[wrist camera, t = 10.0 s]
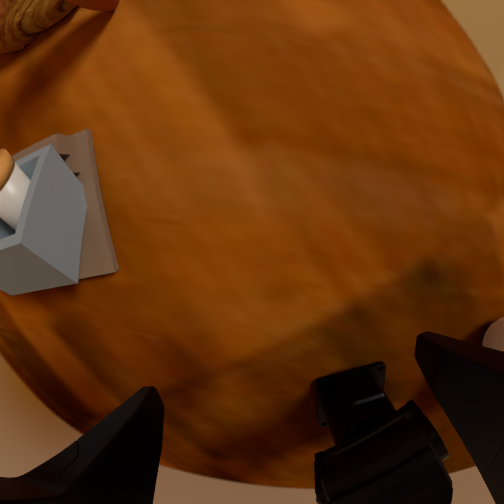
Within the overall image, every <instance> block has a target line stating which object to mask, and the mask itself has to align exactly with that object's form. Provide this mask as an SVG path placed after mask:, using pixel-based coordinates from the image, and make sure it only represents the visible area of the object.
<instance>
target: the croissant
mask: <svg viewBox="0 0 504 504" xmlns="http://www.w3.org/2000/svg"><path fill="white" fill-rule="evenodd" d="M76 6H77V5H75V4H72V3H70V2H68V1H66V0H0V53H7V52H14V51H18V50H21V49H22V48H23V47H24V46H25V45H26V44H29V43H31V42H32V41H33V40H34V39H35V38H36V37H37V35H38V32H39V31H43V30H45V29H48V28H49V27H50V26H51V25H52V24H55V23H57V22H58V21H59V20H60V19H61V18H63V17H64V16H66V15H67V14H68V13H70V12H71V10H72V9H74V8H75V7H76Z"/></svg>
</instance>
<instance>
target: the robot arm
mask: <svg viewBox="0 0 504 504" xmlns="http://www.w3.org/2000/svg"><path fill="white" fill-rule="evenodd" d="M415 359H416V361H417V363H418V365H419V367H420V369H421V371H422V373H423V375H424V377H425V379H426V381H427V383H428V385H429V387H430V389H431V391H432V392H433V394H434V396H435V397H436V399H437V400H438V402H439V404H440V405H441V407H442V408H443V410H444V411H445V413H446V415H447V416H448V418H449V420H450V421H451V423H452V425H453V426H454V428H455V430H456V431H457V433H458V435H459V436H460V438H461V440H462V441H463V443H464V445H465V447H466V448H467V450H468V452H469V454H470V455H471V457H472V459H473V461H474V463H475V464H476V466H477V468H478V470H479V472H480V474H481V475H483V476H482V478H483V480H484V481H485V483H486V485H487V487H488V489H489V491H490V493H491V495H492V497H493V499H494V501H495V503H496V504H504V351H500V350H496V349H492V348H488V347H484V346H481V345H477V344H473V343H469V342H466V341H462V340H458V339H455V338H451V337H447V336H444V335H440V334H436V333H433V332H429V331H426V332H423V333H420V334H419V335H418V336H417V339H416V347H415ZM380 366H381V367H380ZM379 367H380V368H379ZM385 371H386V365H385V364H384V362H382V361H381V362H377V363H374V364H370V365H367V366H363V367H360V368H356V369H353V370H349V371H345V372H341V373H338V374H334V375H329V376H325V377H321V378H319V379H317V381H316V393H317V407H318V422H319V426H320V427H327V426H329V428H330V431H331V434H332V437H333V440H334V443H335V446H333V447H331V448H329V449H327V450H325V451H323V452H321V451H320V452H318V453H316V454H315V462H314V470H315V493H316V496H317V497H316V501H317V503H318V504H451V501H452V493H453V488H452V480H451V478H450V476H449V474H448V472H447V470H446V469H445V467H444V465H443V463H442V461H443V460H445V459H446V458H448V457H449V454H448V451H447V449H446V447H445V445H444V443H443V441H442V439H441V437H440V436H439V434H438V432H437V431H436V429H435V428H434V426H433V425H432V424H431V422H430V421H429V420H428V419H427V417H426V416H425V415H424V414H423V412H422V411H421V410H420V409H419V408H418V406H417V405H416V404H415V403H414V402H413V400H412V399H411V400H410V401H408V402H407V403H406V405H404V406H403V407H401V408H400V409H398V410H397V411H396V409H395V408H394V406H393V404H392V403H391V401H390V400H389V398H388V396H387V395H386V393H385V392H384V382H385ZM322 382H324V383H322ZM320 383H322V384H320ZM163 422H164V405H163V402H162V400H161V398H160V396H159V393H158V391H157V389H156V388H155V387H153V386H148V387H142V388H141V389H140V390H139V391H137V392H136V393H135V394H134V395H133V396H131V397H130V398H129V399H128V400H126V401H125V402H124V403H123V404H121V405H120V406H119V407H118V408H117V409H115V410H114V411H113V412H112V413H110V414H109V415H108V416H107V417H105V418H104V419H103V420H102V421H100V422H99V423H98V424H97V425H95V426H94V427H93V428H91V429H90V430H89V431H88V432H86V433H85V434H84V435H83V436H81V437H80V438H79V439H78V441H75V442H74V443H72V444H71V445H70V446H69V447H67V448H66V449H64V450H63V451H62V452H60V453H59V454H57V455H56V456H54V457H52V458H51V459H49V460H48V461H46V462H45V463H43V464H41V465H40V466H38V467H36V468H34V469H33V470H31V471H29V472H28V473H26V474H24V475H22V476H19V477H13V478H5V477H0V504H153V499H154V491H155V485H156V479H157V473H158V467H159V461H160V456H161V450H162V440H163ZM324 422H325V423H324Z"/></svg>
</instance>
